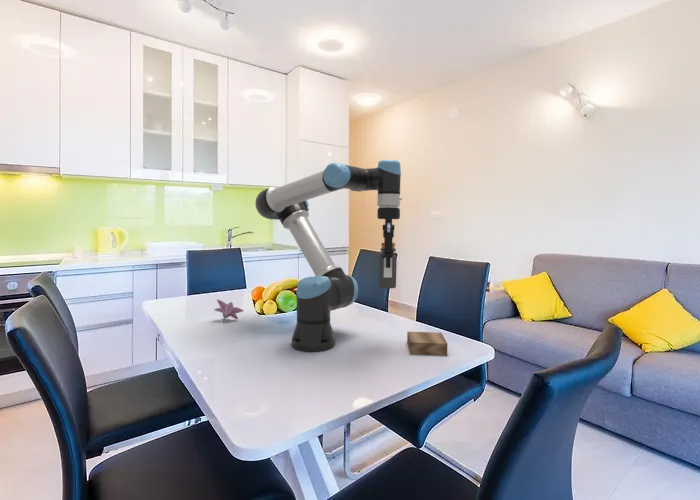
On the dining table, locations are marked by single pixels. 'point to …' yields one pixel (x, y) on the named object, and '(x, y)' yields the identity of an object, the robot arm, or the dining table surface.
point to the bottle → (383, 281)
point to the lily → (228, 309)
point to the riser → (426, 343)
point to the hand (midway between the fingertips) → (387, 275)
